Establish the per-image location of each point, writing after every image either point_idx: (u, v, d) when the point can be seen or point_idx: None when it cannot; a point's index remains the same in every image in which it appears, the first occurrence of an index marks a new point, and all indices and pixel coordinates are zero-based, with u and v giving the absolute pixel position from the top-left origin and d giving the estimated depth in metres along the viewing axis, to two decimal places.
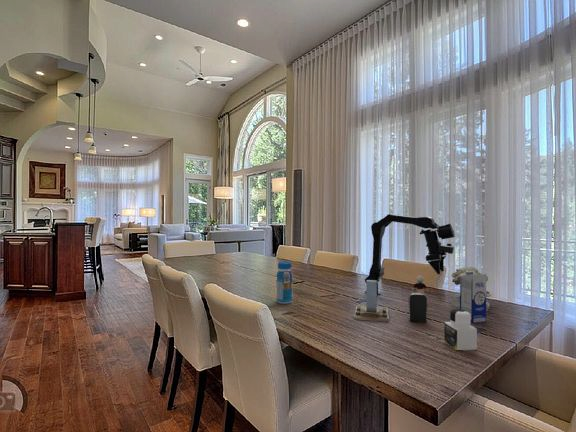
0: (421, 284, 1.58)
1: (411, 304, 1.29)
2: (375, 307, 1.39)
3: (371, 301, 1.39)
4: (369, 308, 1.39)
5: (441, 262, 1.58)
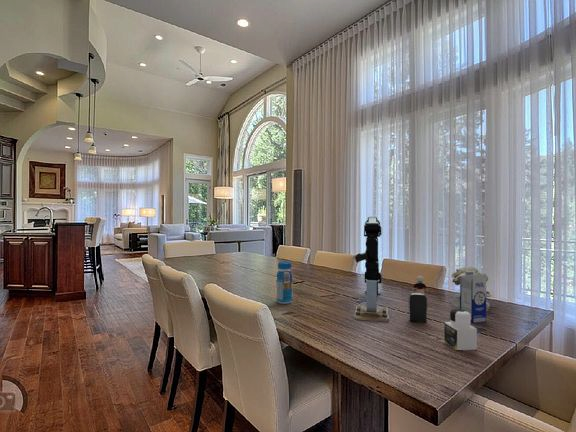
0: (421, 284, 1.58)
1: (411, 304, 1.29)
2: (375, 307, 1.39)
3: (371, 301, 1.39)
4: (369, 308, 1.39)
5: None
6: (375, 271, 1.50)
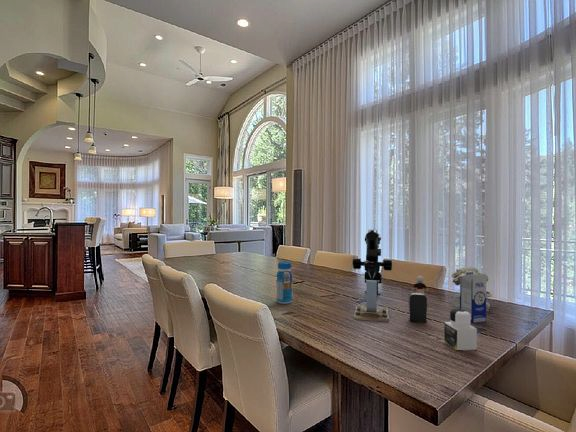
0: (421, 284, 1.58)
1: (411, 304, 1.29)
2: (375, 307, 1.39)
3: (371, 301, 1.39)
4: (369, 308, 1.39)
5: (372, 270, 1.53)
6: (375, 272, 1.54)
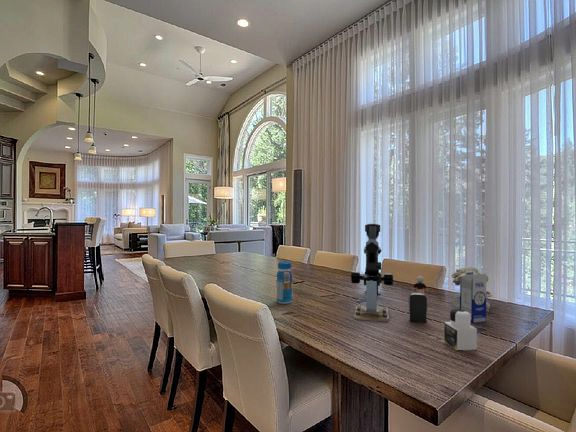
0: (421, 284, 1.58)
1: (411, 304, 1.29)
2: (375, 308, 1.37)
3: (371, 302, 1.38)
4: (369, 309, 1.37)
5: None
6: None
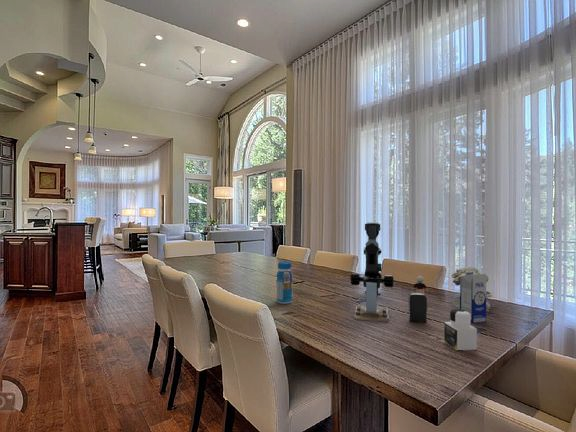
0: (421, 284, 1.58)
1: (411, 304, 1.29)
2: (375, 310, 1.34)
3: (371, 304, 1.35)
4: (369, 311, 1.34)
5: None
6: None
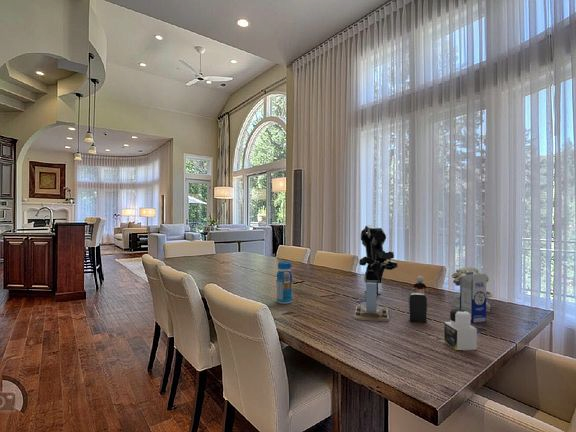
0: (421, 284, 1.58)
1: (411, 304, 1.29)
2: (375, 310, 1.34)
3: (371, 304, 1.35)
4: (369, 311, 1.34)
5: (380, 271, 1.55)
6: None
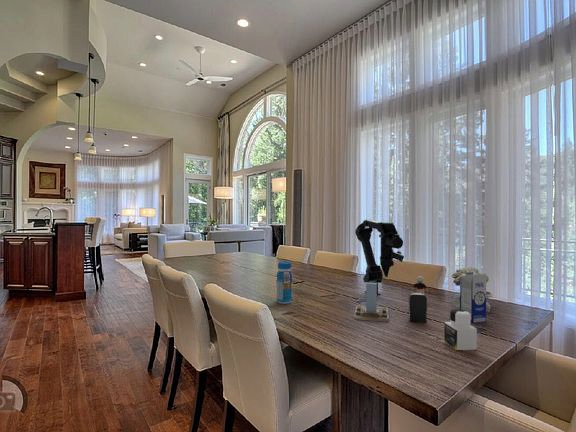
0: (421, 284, 1.58)
1: (411, 304, 1.29)
2: (375, 310, 1.34)
3: (371, 304, 1.35)
4: (369, 311, 1.34)
5: None
6: None
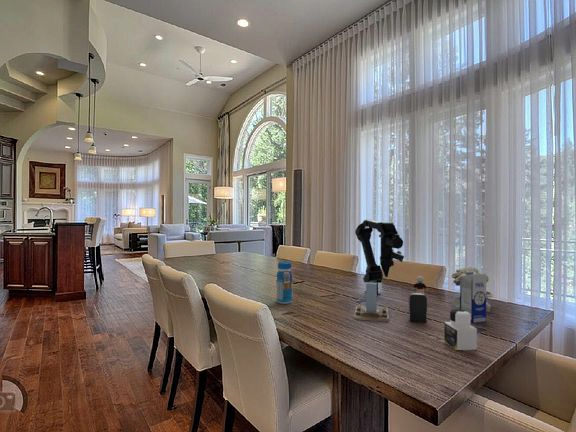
0: (421, 284, 1.58)
1: (411, 304, 1.29)
2: (375, 310, 1.34)
3: (371, 304, 1.35)
4: (369, 311, 1.34)
5: None
6: None
